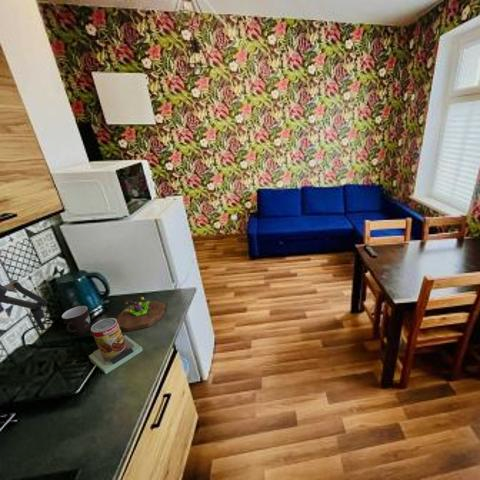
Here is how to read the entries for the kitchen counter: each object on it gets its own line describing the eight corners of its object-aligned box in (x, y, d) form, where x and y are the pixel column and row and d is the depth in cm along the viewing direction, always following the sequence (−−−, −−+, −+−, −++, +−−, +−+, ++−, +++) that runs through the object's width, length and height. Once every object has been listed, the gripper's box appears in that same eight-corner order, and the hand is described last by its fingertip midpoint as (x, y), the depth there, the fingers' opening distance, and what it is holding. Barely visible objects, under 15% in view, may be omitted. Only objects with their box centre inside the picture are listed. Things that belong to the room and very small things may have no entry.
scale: (91, 361, 103) (86, 352, 102) (127, 340, 114) (124, 332, 112) (106, 376, 97) (102, 367, 95) (143, 352, 107) (140, 343, 106)
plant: (155, 329, 120) (149, 308, 116) (108, 334, 117) (99, 313, 113) (171, 302, 138) (166, 284, 134) (130, 306, 135) (124, 287, 131)
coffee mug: (83, 322, 124) (75, 305, 120) (99, 324, 123) (92, 306, 119) (57, 341, 113) (48, 322, 110) (75, 343, 112) (66, 324, 108)
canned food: (119, 355, 101) (109, 330, 97) (96, 358, 100) (85, 333, 95) (129, 340, 108) (121, 316, 104) (108, 342, 107) (98, 318, 103)
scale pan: (93, 354, 103) (92, 352, 103) (122, 337, 111) (122, 335, 111) (105, 365, 98) (104, 363, 98) (135, 346, 106) (134, 345, 106)
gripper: (-121, 308, 54) (-62, 382, 62) (43, 260, 74) (71, 321, 82) (-123, 297, 58) (-67, 368, 66) (33, 254, 77) (61, 313, 86)
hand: (9, 342), depth 74 cm, fingers open, 13 cm apart
